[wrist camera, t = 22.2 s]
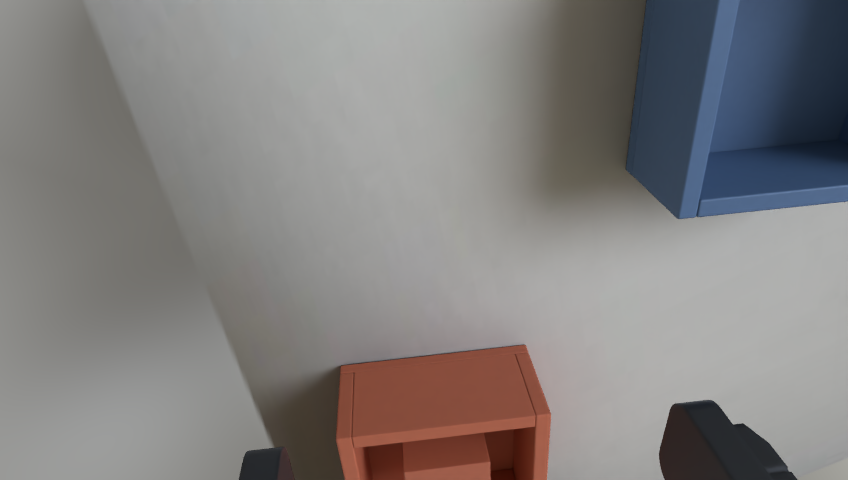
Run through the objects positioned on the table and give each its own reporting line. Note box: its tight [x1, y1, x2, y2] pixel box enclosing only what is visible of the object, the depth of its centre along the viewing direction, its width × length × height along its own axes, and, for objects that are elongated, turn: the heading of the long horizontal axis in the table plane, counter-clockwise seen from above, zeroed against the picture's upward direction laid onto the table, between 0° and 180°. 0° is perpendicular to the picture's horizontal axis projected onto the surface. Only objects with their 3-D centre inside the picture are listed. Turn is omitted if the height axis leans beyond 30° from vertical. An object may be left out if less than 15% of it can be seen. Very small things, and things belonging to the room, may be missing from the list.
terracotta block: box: [402, 433, 491, 480], centre depth 28 cm, size 4×4×4 cm
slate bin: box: [626, 0, 848, 219], centre depth 19 cm, size 9×9×5 cm
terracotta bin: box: [336, 345, 551, 480], centre depth 28 cm, size 9×9×5 cm
